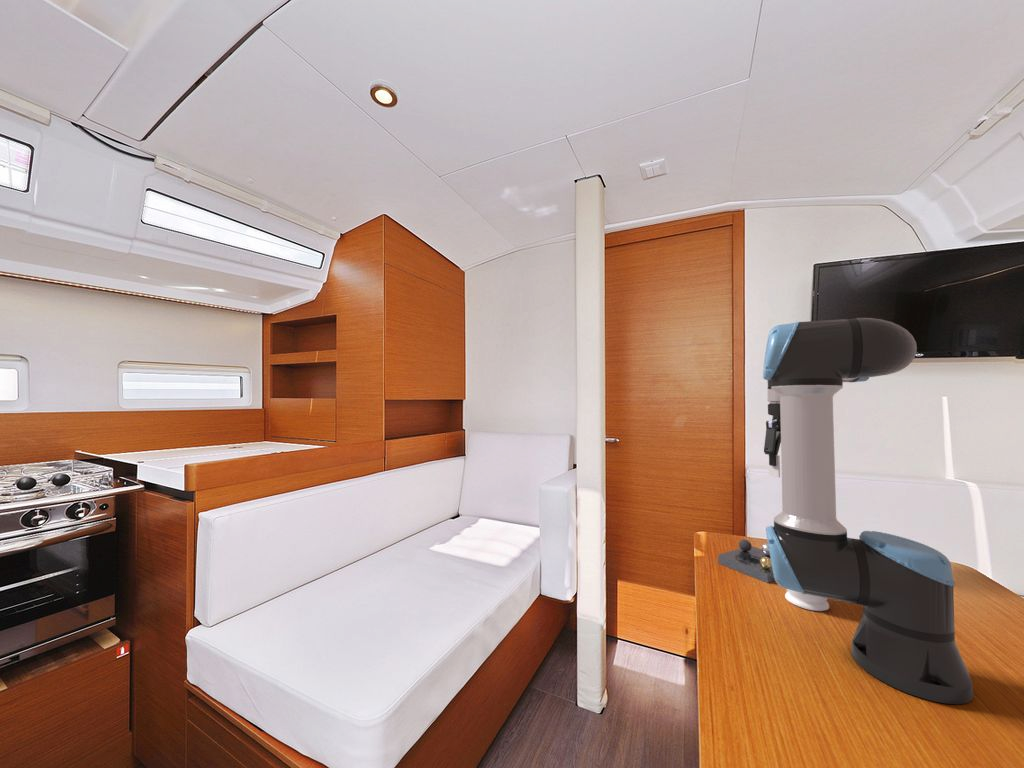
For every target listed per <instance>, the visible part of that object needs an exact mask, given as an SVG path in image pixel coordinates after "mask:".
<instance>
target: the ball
mask: <svg viewBox="0 0 1024 768" xmlns="http://www.w3.org/2000/svg"><path fill="white" fill-rule="evenodd" d="M760 549H761V550H762V552H763V553H764V554H765V555H768V556H770V553H769V547H768V542H765V543H762V545H761V547H760Z"/></svg>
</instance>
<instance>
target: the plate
mask: <svg viewBox="0 0 1024 768" xmlns="http://www.w3.org/2000/svg"><path fill="white" fill-rule="evenodd" d="M751 546H752V548H751V550H750V551H747V552H746V551H743V550H741V549H740V548H737V549H733V550H729V551H726V552H723V553H720V554H718V558H717V559H718V561H717V562H718V564H719V565H722V566H725V567H727V568H729V569H733V570H734V571H737V572H740V573H742V574H744V575H746V576H749V577H751V578H755V579H756V580H759V581H762V582H764V583H767V584H770V583H772V582H776V581H775V578H774V574H773V569H772V567H771V568H770V569H765V568H763V567H762V566H761V565H760V559H761V558H762V557H768V558H769V559H770V556H768V555H765V554H764V553H763V552H762V550H761V548H759V547H756V546H753V545H751Z"/></svg>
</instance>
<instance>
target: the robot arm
mask: <svg viewBox="0 0 1024 768" xmlns="http://www.w3.org/2000/svg"><path fill="white" fill-rule="evenodd" d="M768 333H769V334H768V336H767V341H766V347H765V352H764V361H763V369H762V378H763V380H765V381H767V402H769V403H768V404H767V415H769V416H772V418H771V420H766V421H765V427H766V428H765V437H764V444H763V445H764V446H763V452H764V454H765V455H768V471H769V472H768V476H769V477H774V478H781V500H782V502H781V503H782V506H781V507H782V511H780V513H778V514H777V515H775V516H774V518H773V525H769V526H766V527H765V534H766V540H767V543H768V547H769V553H770V559H771V564H772V569H773V574H774V578H775V581H774V582H776V584H777V585H778V586H780V588H783V589H785V590H786V589H789V590H793V591H796V592H800V593H802V594H809V595H814V596H819V597H824V598H828V599H829V600H834V601H838V602H845V603H848V604H849V603H850V604H855V605H859V606H862V616H861V619H860V621H859V623H858V626H857V627H856V630H855V631H854V633H853V637H852V638H851V656H852V657H853V659H854V661H855V662H856V663H857V665H858V666H859V667H861V668H862V669H863V670H865V672H867V673H868V674H869V675H871V676H873V677H874V678H876V679H877V680H879V681H881V682H883V683H884V684H886V685H889V686H890V687H893V688H895V689H896V690H900V691H901V692H903V693H906V694H909V695H913V696H915V697H918V698H920V699H924V700H927V701H932V702H936V703H942V704H948V705H963V704H967V703H970V702H971V701H972V700H973V698H974V691H973V690H974V689H973V688H974V687H973V679H972V678H971V675H970V673H969V671H968V668H967V667H966V664H965V662H964V660H963V657H962V655H961V653H960V651H959V649H958V646H957V643H956V633H955V632H956V631H955V630H956V629H955V627H956V626H955V603H954V597H955V596H954V595H955V594H954V586H955V585H956V584H955V583H956V582H954V575H953V569H952V568H953V567H952V564H951V561H950V560H949V558H948V557H947V556H946V555H945V554H943V553H942V552H940V551H939V550H938V549H935V548H933V547H930V546H928V545H926V544H924V543H921V542H919V541H915V540H912V539H910V538H906V537H904V536H899V535H896V534H891V533H887V532H882V531H875V530H871V531H870V530H864V531H862V532H861V533H860V535H859V538H851V537H848V530H847V528H846V527H845V525H843V524H842V523H841V522H840V521H839V520H838V519H837V501H836V500H837V496H836V495H837V494H836V493H837V492H836V468H835V467H836V465H835V462H836V461H835V434H834V432H835V430H834V429H835V428H834V427H835V426H834V396H835V395H836V394H837V393H838V392H839V391H840V390H842V389H843V388H844V387H843V385H844V383H858V382H867V381H869V379H870V378H875V377H880V376H881V377H882V376H888V375H891V374H892V375H893V374H895V373H897V372H900V371H902V370H904V369H905V368H907V367H908V366H909V365H911V363H912V362H913V361H914V359H915V357H916V355H917V348H918V347H917V341H916V340H915V338H914V336H913V335H912V333H910V332H909V330H907V329H906V328H904V327H902V325H900V324H897V323H894V322H893V321H888V320H885V319H881V318H873V317H855V318H851V319H850V318H849V319H848V318H846V319H831V320H830V319H828V320H812V321H796V322H791V323H785V324H784V323H783V324H777V325H775V326H772V328H771V329H770V331H769V332H768ZM780 448H781V449H780ZM779 451H780V453H781V455H779ZM780 458H781V460H780ZM780 464H781V465H780Z"/></svg>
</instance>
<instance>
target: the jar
mask: <svg viewBox="0 0 1024 768" xmlns="http://www.w3.org/2000/svg"><path fill="white" fill-rule="evenodd" d="M785 590H786V593H785V594H784V597H785V599H786V600H787V601H788V602H789V603H791V604H792V605H795V606H796V607H799V608H802V609H805V610H809V611H813V612H815V611H816V612H825V611H827V610H829V608H830V604H829V602H828V599H829V598H824V597H819V596H814V595H809V594H802V593H800V592H796V591H793V590H789V589H785Z"/></svg>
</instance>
